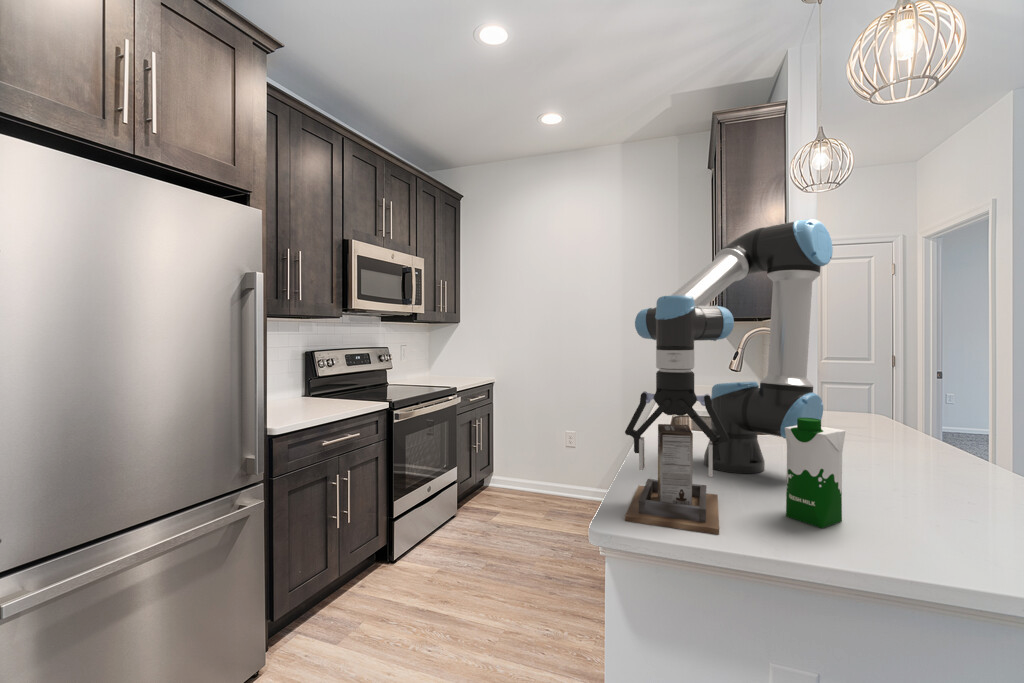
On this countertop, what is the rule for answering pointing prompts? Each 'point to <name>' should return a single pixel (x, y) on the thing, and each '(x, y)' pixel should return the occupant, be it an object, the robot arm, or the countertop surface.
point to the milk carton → (814, 473)
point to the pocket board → (675, 509)
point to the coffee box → (675, 463)
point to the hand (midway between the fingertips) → (675, 471)
